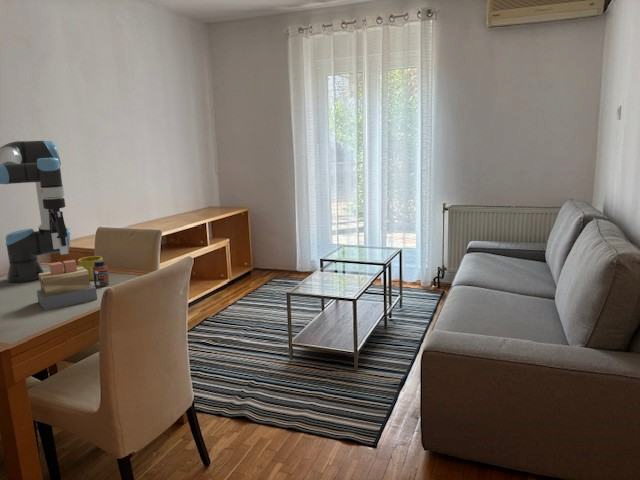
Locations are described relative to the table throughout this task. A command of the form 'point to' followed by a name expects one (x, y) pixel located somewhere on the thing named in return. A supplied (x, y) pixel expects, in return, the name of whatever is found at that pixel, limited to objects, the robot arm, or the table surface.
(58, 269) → the crate
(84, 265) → the plant pot
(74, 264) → the crate
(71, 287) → the beige block
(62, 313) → the table surface
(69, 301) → the block
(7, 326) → the table surface
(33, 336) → the table surface
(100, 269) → the supplement bottle
